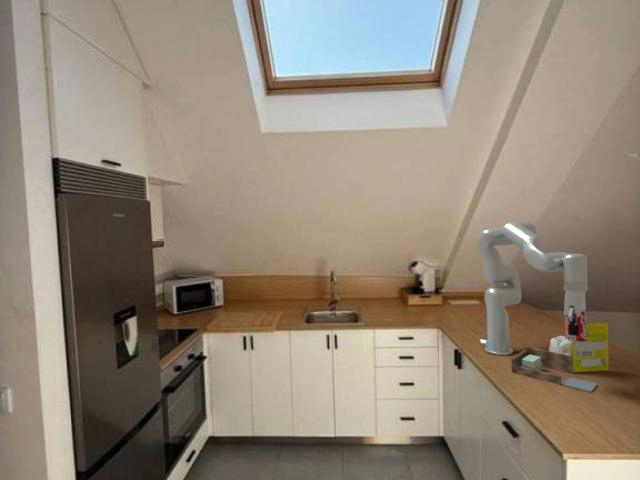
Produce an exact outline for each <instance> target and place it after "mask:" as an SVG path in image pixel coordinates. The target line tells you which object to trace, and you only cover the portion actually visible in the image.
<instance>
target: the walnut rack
mask: <svg viewBox="0 0 640 480" xmlns="http://www.w3.org/2000/svg"><path fill="white" fill-rule="evenodd" d="M524 348H525V349H523V350H522V351H520V352H519V353H517V354H516V355H514V356H512V357H511V373H514V374H518V375H522V376H526V377H530V378H534V379H537V380H541V381H546V382H548V381H549V383H552V382H553V384H556V383H557V385H562V376H561V375H558V374H554V373H549V372H545V371H542V370H541V371H538V370H534V369H529V368H525V367H521V366H522V359H523V358H525V357H527V356H528V355H534V356H539V357H541V363H542V364H543V368H547V369H550V370H555V371H560V372H564V373H569V374H573V373H574V372H573V356H571V355H566V354H561V353H556V352H551V351H549V350H544V349H539V348H537V347H536V348H535V347H530V346H525V347H524Z"/></svg>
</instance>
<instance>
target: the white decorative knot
mask: <svg viewBox="0 0 640 480" xmlns="http://www.w3.org/2000/svg"><path fill="white" fill-rule="evenodd" d="M549 342H550V344H549V347H548V351H551V352H556V353H561V354H566V355H571V356H572V342H571V341H569V340H568V339H566V336H564V335H558V336H556V337H552V338H551V339H550V341H549Z"/></svg>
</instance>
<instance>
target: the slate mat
mask: <svg viewBox="0 0 640 480" xmlns="http://www.w3.org/2000/svg"><path fill="white" fill-rule="evenodd" d="M562 386H563V387H566V388H571V389H575V390H579V391H582V392H586V393H590V394H591V393H592V392H593V391H594V390H595V389H596V388H597V387H598V383H596V382H591V381H588V380H583V379H579V378H575V377H572V376H570V377H569V378H567V380H565V381H564V382H563V384H562Z"/></svg>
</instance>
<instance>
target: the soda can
mask: <svg viewBox="0 0 640 480" xmlns="http://www.w3.org/2000/svg"><path fill="white" fill-rule="evenodd" d="M564 316H565V315H564ZM573 316H576V315H575V314H573ZM573 319H574V320H575V319H576V318H573ZM587 324H588V314H587V313H586V312H585V310H584V311H582V313H581V315H580V317H579V318H578V324H577V325H579V335H578V336H575V335H569V333H568V315H567V316H565V317H564V331H565V333H564V335H565V337H566V339H568V340H569V341H571V342H576V343H584V342H585V341H587Z"/></svg>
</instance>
